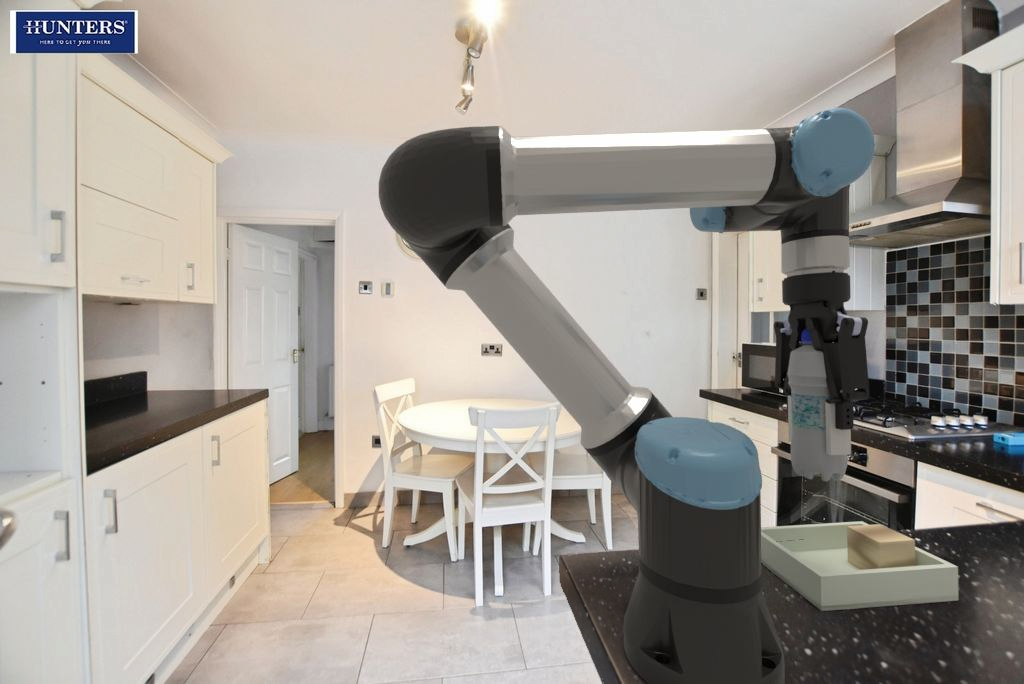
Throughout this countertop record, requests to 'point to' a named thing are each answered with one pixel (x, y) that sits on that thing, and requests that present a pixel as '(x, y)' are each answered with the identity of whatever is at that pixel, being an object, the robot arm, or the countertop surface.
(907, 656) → the countertop surface
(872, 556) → the cube
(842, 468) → the bottle
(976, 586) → the countertop surface
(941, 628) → the countertop surface
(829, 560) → the tote
